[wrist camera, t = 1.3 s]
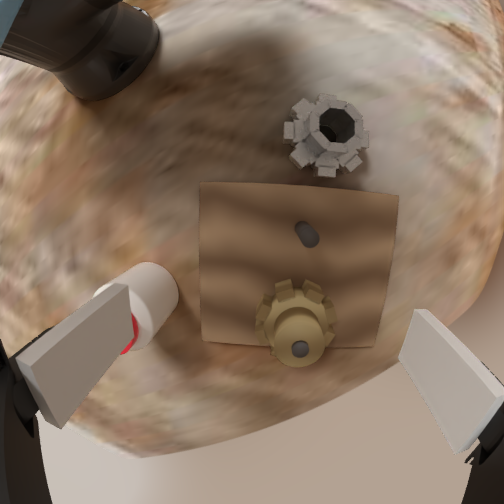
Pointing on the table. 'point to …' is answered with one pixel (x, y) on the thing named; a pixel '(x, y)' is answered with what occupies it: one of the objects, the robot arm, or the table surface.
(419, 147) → the table surface
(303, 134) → the steel gear
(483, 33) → the table surface
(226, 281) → the gear board
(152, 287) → the pill bottle
